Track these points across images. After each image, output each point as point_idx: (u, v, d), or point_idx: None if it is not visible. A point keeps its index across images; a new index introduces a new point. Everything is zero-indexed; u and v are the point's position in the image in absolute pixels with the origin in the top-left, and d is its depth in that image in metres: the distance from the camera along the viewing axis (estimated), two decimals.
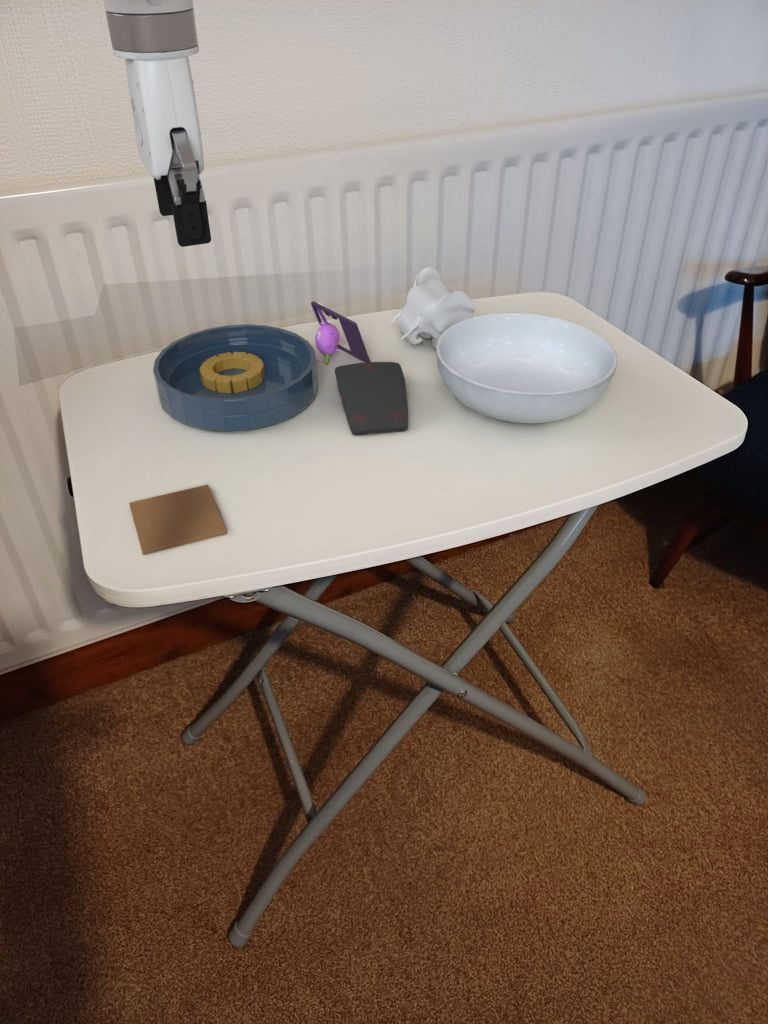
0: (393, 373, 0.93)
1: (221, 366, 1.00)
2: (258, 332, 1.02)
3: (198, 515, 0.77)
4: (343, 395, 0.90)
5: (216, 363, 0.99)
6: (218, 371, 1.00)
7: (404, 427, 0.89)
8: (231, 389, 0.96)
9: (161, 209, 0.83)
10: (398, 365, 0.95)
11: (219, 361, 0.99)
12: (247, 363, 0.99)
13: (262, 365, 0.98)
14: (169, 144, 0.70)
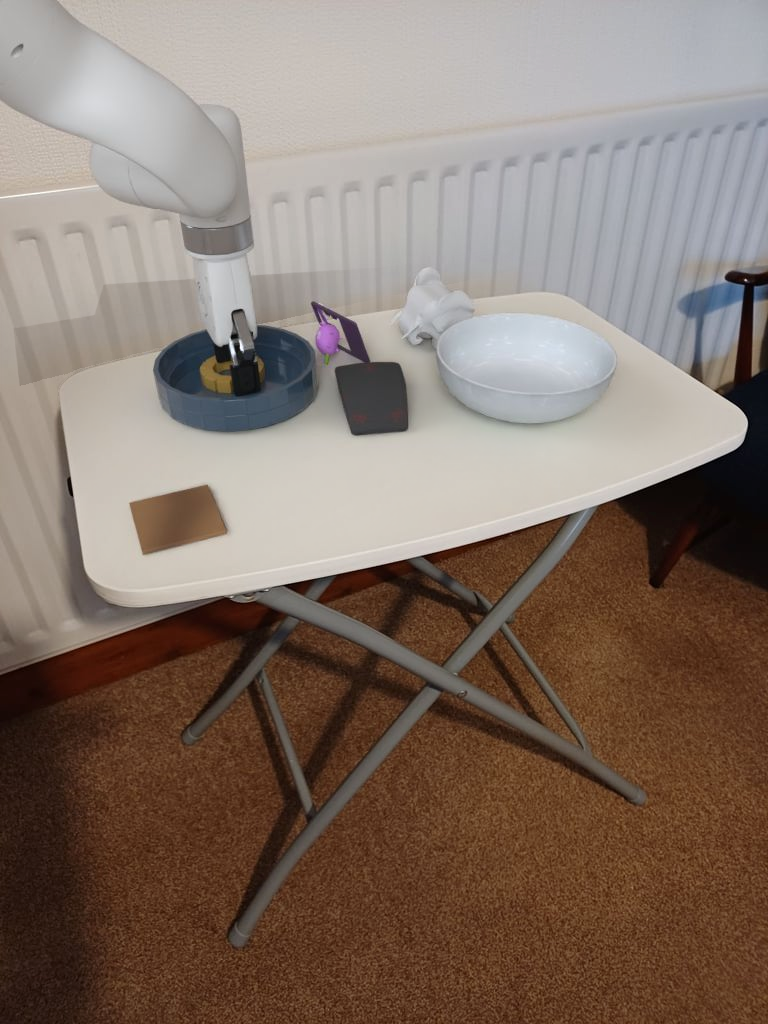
0: (393, 373, 0.93)
1: (221, 366, 1.00)
2: (258, 332, 1.02)
3: (198, 515, 0.77)
4: (343, 395, 0.90)
5: (216, 363, 0.99)
6: (218, 371, 1.00)
7: (404, 427, 0.89)
8: (231, 389, 0.96)
9: (217, 358, 0.98)
10: (398, 365, 0.95)
11: None
12: None
13: (262, 365, 0.98)
14: (230, 322, 0.86)
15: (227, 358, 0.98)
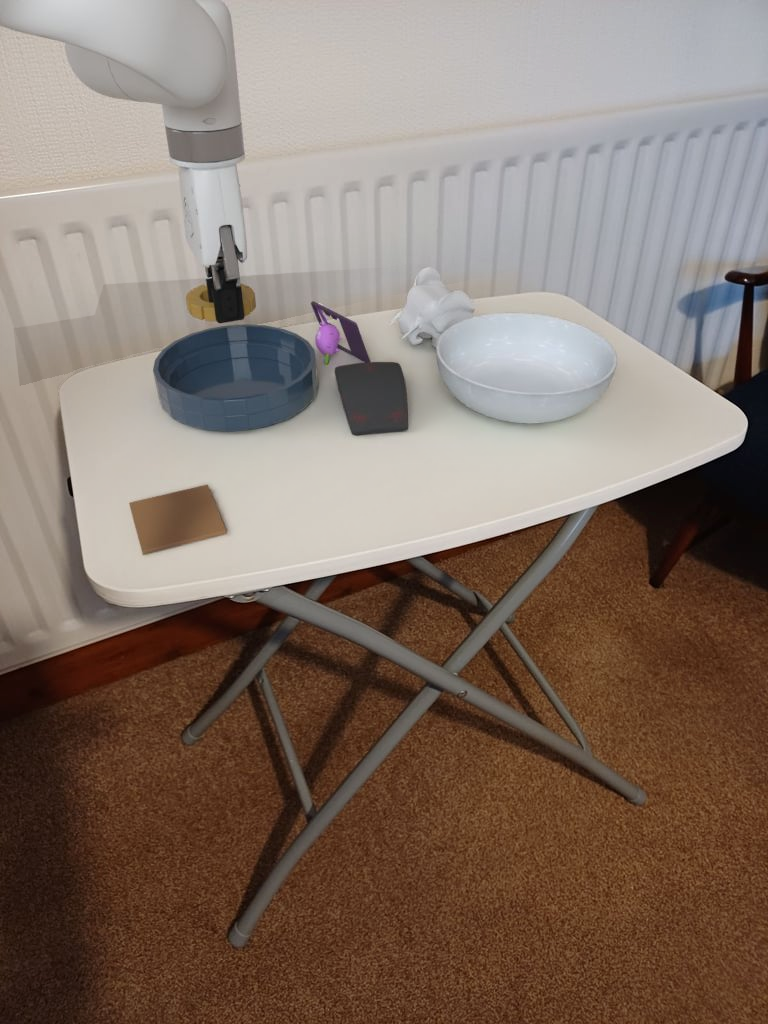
0: (393, 373, 0.93)
1: None
2: (258, 332, 1.02)
3: (198, 515, 0.77)
4: (343, 395, 0.90)
5: (204, 292, 0.92)
6: (206, 301, 0.93)
7: (404, 427, 0.89)
8: None
9: None
10: (398, 365, 0.95)
11: None
12: None
13: (253, 294, 0.92)
14: (218, 239, 0.80)
15: None
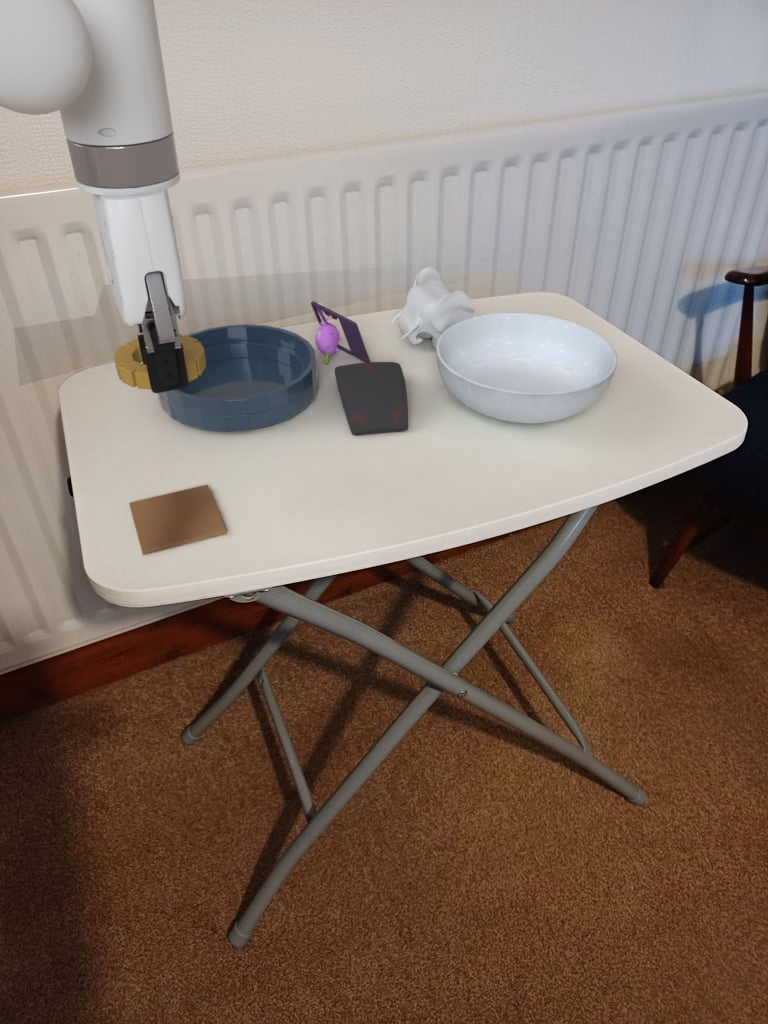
0: (393, 373, 0.93)
1: None
2: (258, 332, 1.02)
3: (198, 515, 0.77)
4: (343, 395, 0.90)
5: (138, 348, 0.71)
6: None
7: (404, 427, 0.89)
8: None
9: None
10: (398, 365, 0.95)
11: None
12: None
13: (202, 351, 0.71)
14: (144, 290, 0.59)
15: None
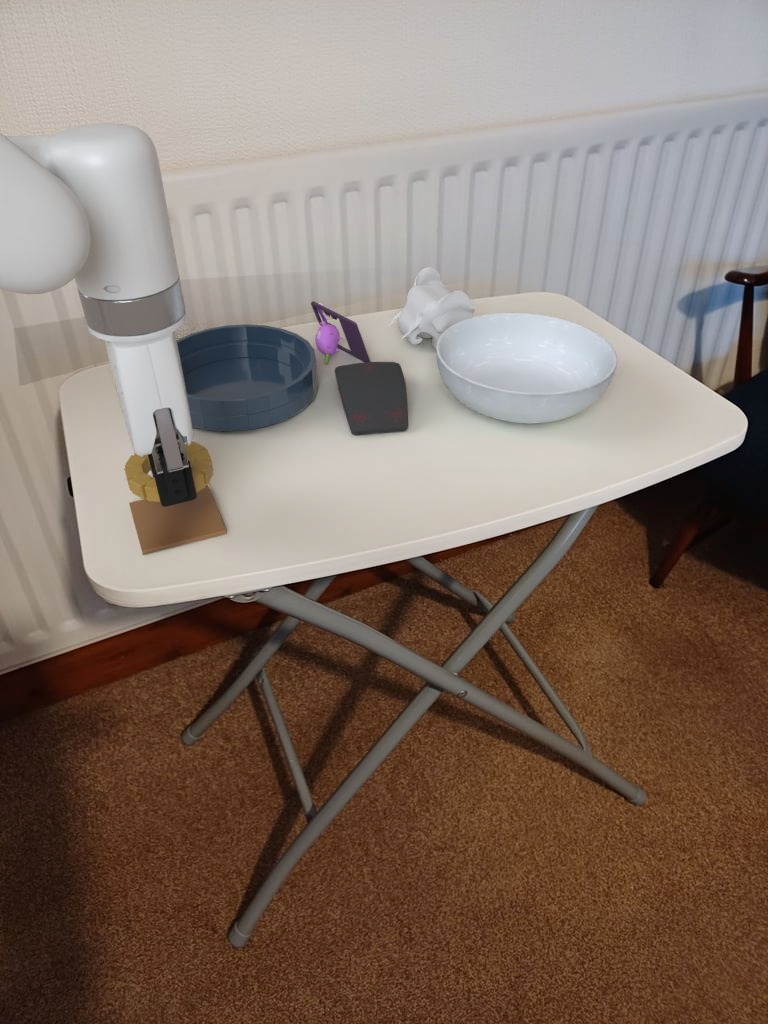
0: (393, 373, 0.93)
1: None
2: (258, 332, 1.02)
3: (198, 515, 0.77)
4: (343, 395, 0.90)
5: None
6: None
7: (404, 427, 0.89)
8: None
9: None
10: (398, 365, 0.95)
11: None
12: (190, 456, 0.75)
13: (209, 460, 0.73)
14: (153, 426, 0.61)
15: None
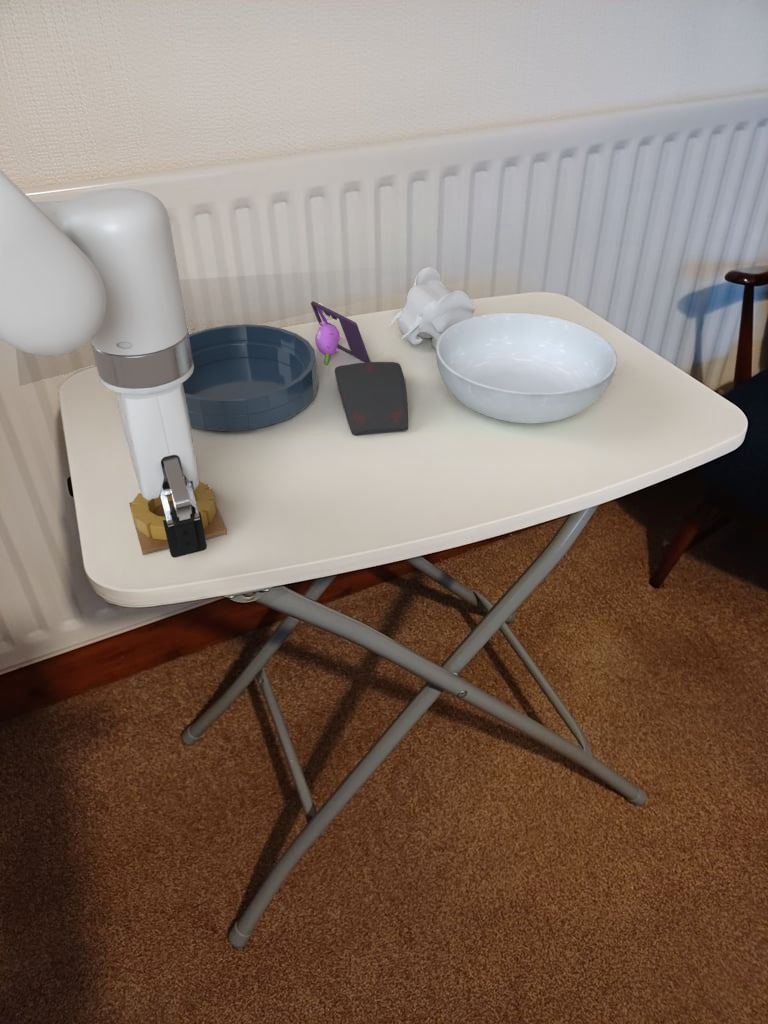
0: (393, 373, 0.93)
1: None
2: (258, 332, 1.02)
3: None
4: (343, 395, 0.90)
5: None
6: (157, 504, 0.78)
7: (404, 427, 0.89)
8: None
9: None
10: (398, 365, 0.95)
11: None
12: (194, 495, 0.78)
13: (212, 500, 0.77)
14: (160, 472, 0.64)
15: None
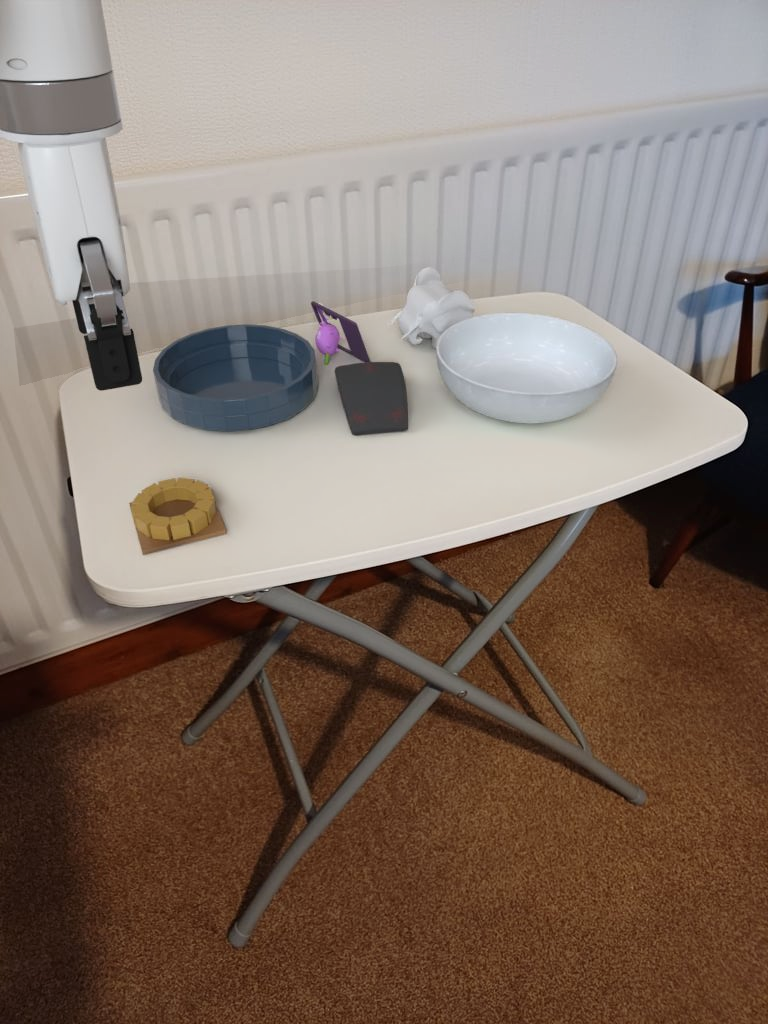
0: (393, 373, 0.93)
1: (161, 498, 0.78)
2: (258, 332, 1.02)
3: None
4: (343, 395, 0.90)
5: (154, 496, 0.77)
6: (157, 504, 0.78)
7: (404, 427, 0.89)
8: (169, 535, 0.74)
9: (80, 326, 0.61)
10: (398, 365, 0.95)
11: (158, 493, 0.78)
12: (194, 495, 0.78)
13: (212, 500, 0.77)
14: (77, 260, 0.50)
15: None
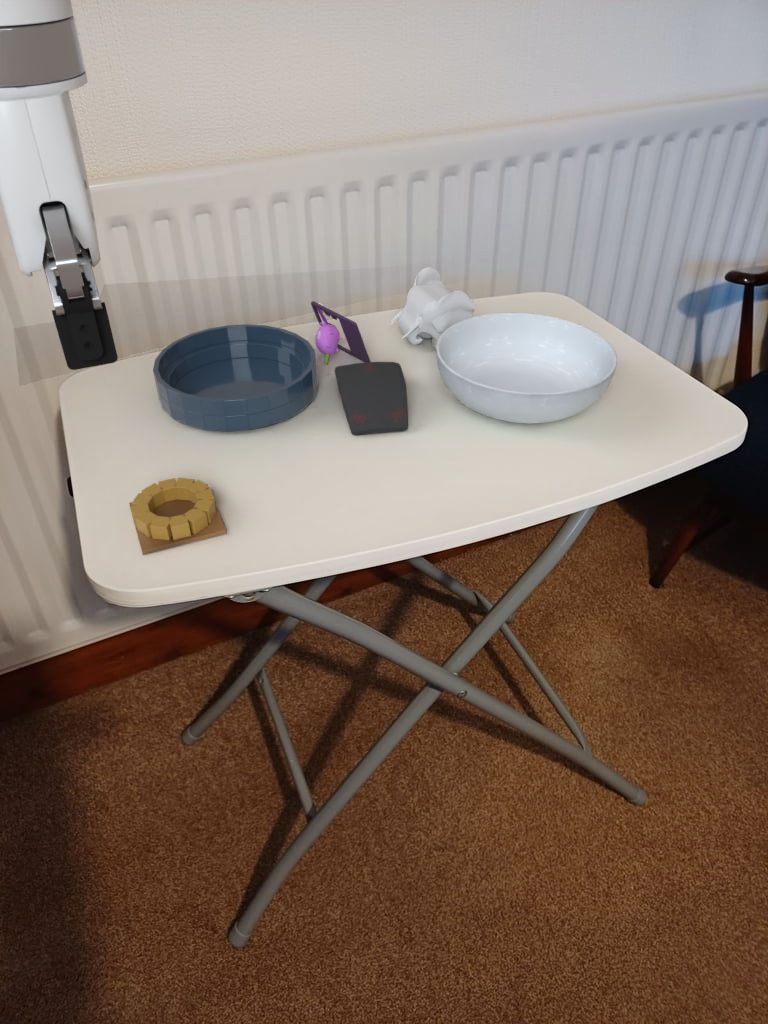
0: (393, 373, 0.93)
1: (161, 498, 0.78)
2: (258, 332, 1.02)
3: None
4: (343, 395, 0.90)
5: (154, 496, 0.77)
6: (157, 504, 0.78)
7: (404, 427, 0.89)
8: (169, 535, 0.74)
9: None
10: (398, 365, 0.95)
11: (158, 493, 0.78)
12: (194, 495, 0.78)
13: (212, 500, 0.77)
14: (40, 227, 0.46)
15: None
